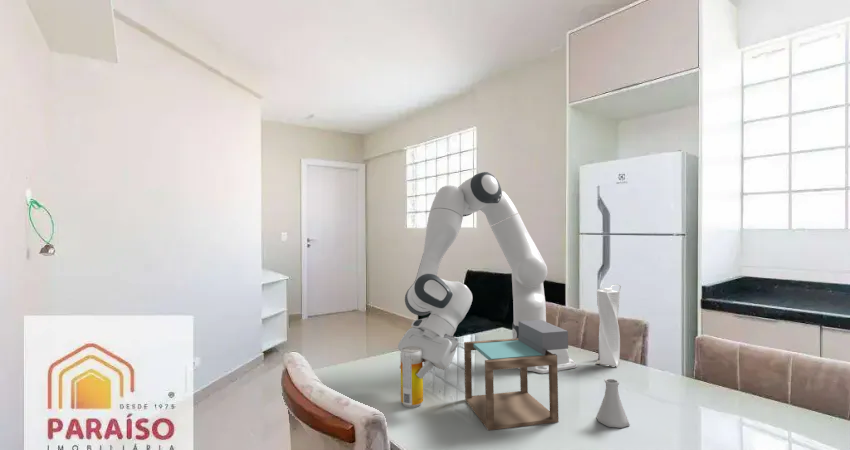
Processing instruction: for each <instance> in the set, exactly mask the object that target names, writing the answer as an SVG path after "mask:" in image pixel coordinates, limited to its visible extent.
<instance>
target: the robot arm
mask: <svg viewBox="0 0 850 450" xmlns="http://www.w3.org/2000/svg"><path fill="white" fill-rule="evenodd" d="M478 211H481V212H482V213H484V216H485V217H486V220H487V222H488V225H489V226H490V228H491V231H492V233H493V235H494V237H495V239H496V241H497V243H498V245H499V247H500V249H501V251H502V254H503V255H504V257H505V259H506V261H507V263H508V265H509V267H510V269H511V283H512V300H513V301H512V303H513V322H512V327H511V328H512V330H511V334H512V339H515V338H518V335H519V322H518V321H529V320H543V321H545V322H547V314H546V313H547V312H546V311H547V309H546V296H545V288H544V282H545V281H546V278H547V276H548V266H547V264H546V261H545V260H544V258H543V256H542V254H541V253H540V250H539V249H538V247H537V244H536V243H535V242H534V239H533V238H532V237H531V234H530V233H529V231H528V229H527V227H526V225H525V223H524V221H523V218H522V216H521V215H520V213H519V211H518V209H517V207H516V206H515V204H514V202H513V201H512V199H511V198H510V197H509V195H508V194H507V193H506V191H504V190H502V188H501V185H500V182H499V180H498V179H497V177H496V176H494V175H493V174H492V173H490V172H488V171H483V172H477V174H475V175H473V176H472V177H469V178H468V179H467V180H465V181H464V182H462V183H461V184H459V186H458V187H457V186H455V185H444V186H442V187H440V189H439V188H438V191H437V193H436V195H435V197H434V199H433V201H432V203H431V207H430V210H429V213H428V217H427V222H426V223H427V224H426V228H425V229H426V231H425V238H424V239H425V240H424V244H423V246H424V247H423V253H422V256H421V261H420V263H419V268H418V271H417V273H416V277H415V281H413V284H411V286H410V287H409V288H408V289H407V291H406V293H405V297H404V303H405V306H406V308H407V310H409V312H411V314H414V315H415V316H422V317H423V316H427V315H428V316H427V317H423V318H420V319H415V320H413V321H412V323H411V327H410V328H409V329H407V331H405V333H404V334H403V336H402V337H401V339H400V341H399V342H398V344H397V349H398V350H399V352H401V351H402V348H403V347H407V346H417V347H420V348H421V350H422V359H423V364H424V365H423V367H422V368H421V369H418V370H417V372H416V373H415V375H416V376H417V377H418V378H420V379H422V378H423V379H424V376H425V375H426V374H427V373H429V372H430V371H431V370H432V369H433V368H437V369H438V370H439V369H440V370H441V371H444V370H446V369H448V368H449V366H450V364H451V362H452V361H453V358H454V357H455V354H456V351H457V348H458V346H459V338H458V337H456V336H454V334H455V333H456V331H457V328H458V325H459V324H460V323H461V322H462V321H463V320H464V319H465V317H466V315H467V313H468V312H469V310H470V308H471V307H472V306H471V305H472V302H473V293H472V291H471V290H470V288H469V287H468V286H467V285H466V284H465V283H464V282H461V281H457V280H455V281H452V280H451V281H450V280H447V279H443V278H441V277H439V276H438V272H439V269H440V265H441V262H442V260H443V258H444V256H445V255H446V252H447V251H448V250H449V248H451V246H452V245H453V243H454V242H455V240H457V237H458V234H459V232H460V230H461V227H462V223H463V220H464V219H463V218H464V217H467V216H470V215H472V214H474V213H476V212H478ZM568 350H569V349H557V350H547V351H549V352H550V353H552V354H554V355H556V356H557V372H559V371H565V370H570V369H574V368H577V362H575V361H574V360H573V359H572V358H570V355H569V351H568ZM399 369H400V370H401V364H400V365H399ZM517 369H518V370H520V368H517ZM527 372H534V373H539V374H549V365H546V366H534V367H527Z"/></svg>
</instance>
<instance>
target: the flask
mask: <svg viewBox="0 0 850 450" xmlns="http://www.w3.org/2000/svg"><path fill="white" fill-rule="evenodd" d="M604 382H605V392H604V396H603V399H602V401H601V404H600V407H599V409H598V411H597V414H596V419H597V421H598V422H599V423H601V424H603V425H604V426H606V427H609V428H618V429H619V428H625V427H629V426H630V425H631V424H630V422H629V419H628V416H627V414H626V412H625V409H624V406H623V403H622V401H621V399H620V398H621V397H620V394H619V385H620V382H619V380H617V379H615V378H605V379H604Z"/></svg>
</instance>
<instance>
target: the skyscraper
mask: <svg viewBox="0 0 850 450" xmlns="http://www.w3.org/2000/svg"><path fill="white" fill-rule="evenodd" d="M613 287H619V288H618V291H617V290H613ZM621 287H622V286H621V284H618V283H614V284H612V285H611V286H610V287H609V288H608V287H604V288H603V289H602V288H597V289H596V298H597V301H596V302H597V309H598V316H599V323H598V325H599V326H598V327H599V328H598V337H597V339H598V348H597V352H598V358H597V359H596V362H595V365H596V364H600V365H599V366H601V365H609V366H617V365H618V362H619V361H620V354H621V353H620V352H621V337H620V326H619V322H618V317H619V316H618V315H619V311H620V310H619V309H620V298H621V297H620V296H621V293H620V291H621ZM619 363H620V362H619ZM617 367H619V365H618V366H617Z"/></svg>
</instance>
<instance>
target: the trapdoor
mask: <svg viewBox="0 0 850 450" xmlns="http://www.w3.org/2000/svg"><path fill="white" fill-rule="evenodd" d="M518 322H519V335H518V340H516V341H502V342H489V343H475V344H473V347H474V348H475V349H476V350H475V351H478V353H480V354H481V356H483V357H484V358H485V359H486V360H494V359H506V358H518V357H530V356H542V355H545V350H557V349H567V350H569V331H568V330H566V329H564V328H562V327H559V326H556V325H554V324H552V323H549V322H547V321H546V322H545V321H543V320H529V321H518Z"/></svg>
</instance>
